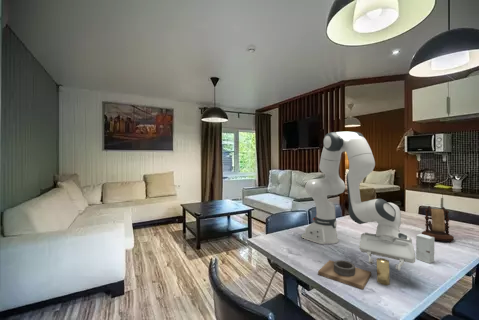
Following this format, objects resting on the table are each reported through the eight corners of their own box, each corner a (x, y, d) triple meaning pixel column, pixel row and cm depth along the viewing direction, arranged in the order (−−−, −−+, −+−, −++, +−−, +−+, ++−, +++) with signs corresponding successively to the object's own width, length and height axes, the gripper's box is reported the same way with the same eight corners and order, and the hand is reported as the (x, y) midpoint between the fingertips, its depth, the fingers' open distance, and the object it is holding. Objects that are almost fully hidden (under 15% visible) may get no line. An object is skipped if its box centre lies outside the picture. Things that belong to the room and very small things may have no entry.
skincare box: (415, 258, 111) (415, 234, 111) (420, 257, 113) (420, 233, 113) (430, 264, 106) (429, 238, 106) (435, 262, 108) (434, 237, 108)
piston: (376, 282, 92) (375, 260, 92) (378, 278, 95) (377, 257, 95) (388, 286, 89) (388, 263, 89) (390, 281, 92) (390, 260, 92)
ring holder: (318, 274, 99) (317, 264, 99) (329, 263, 109) (329, 254, 109) (362, 289, 87) (362, 278, 87) (371, 275, 97) (370, 264, 97)
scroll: (425, 241, 134) (424, 208, 134) (419, 233, 147) (418, 203, 147) (458, 244, 127) (457, 210, 127) (448, 236, 140) (447, 205, 140)
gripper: (360, 228, 105) (354, 256, 98) (415, 237, 91) (414, 270, 84) (362, 235, 108) (358, 262, 101) (416, 245, 94) (415, 277, 87)
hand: (383, 266), depth 92 cm, fingers open, 8 cm apart
